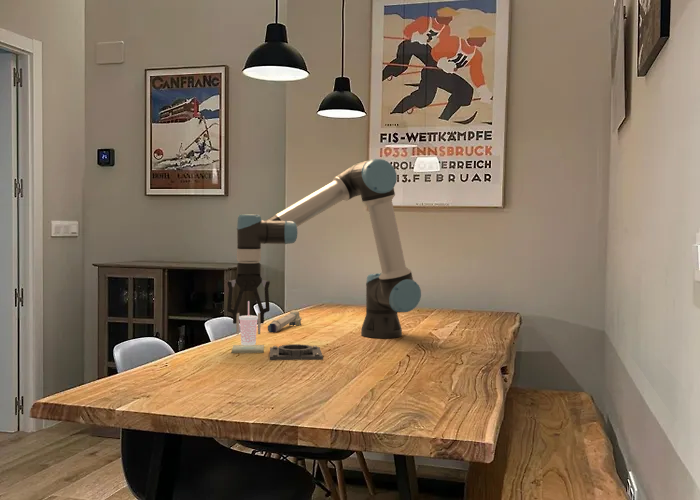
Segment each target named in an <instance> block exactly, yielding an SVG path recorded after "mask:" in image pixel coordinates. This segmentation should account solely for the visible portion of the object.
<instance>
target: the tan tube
mask: <svg viewBox="0 0 700 500" xmlns="http://www.w3.org/2000/svg"><path fill="white" fill-rule="evenodd" d="M302 321H303V320H302V317H301V316H300V311H299V310H297V309H293V310H290V312H289V313H287V315H284V316H282V317H281V318H278V319H275V320H272V321H271V323H269V324H268V325H267V331H268V332H269V333H270V332H276V333H277V331H279V332H280V331H281V330H282V329H283V328H284V327H286V326H288V325H289V326H290V325H293V326H292V327H295V326H294V325H297V326H299V325H300V326H301V324H302Z"/></svg>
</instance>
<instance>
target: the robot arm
mask: <svg viewBox="0 0 700 500" xmlns="http://www.w3.org/2000/svg"><path fill="white" fill-rule="evenodd" d="M397 180H398V175H397V172H396V169H395V167H394V165H392V163H390V162H389V161H387V160H386V159H381V158H371V159H369V160H365V161H363V160H362V161H360V162H356V163H355V164H353V165H351V166H350V167H349V168H346V170H344V171H342V172H341V173H339V174H338V175H336V176H333V179H332V181H331V182H329V183H328V184H326V185H324V186H323V187H320V188H319V189H317V190H316V191H314V192H312V193H310V194H308V195H307V196H305V197H303V198H301V199H300V200H297V202H294V203H292V204H291V205H289V206H288V207H286V208H284V209H282V210H281V211H279V212H278V213H276V214H275V215H272V216H271V217H269V218H267V219H265V220H263V219H262V216H261V215H260V214H255V213H254V214H253V213H252V214H251V213H250V214H248V213H246V214H245V213H243V214H239V215H238V216H237V221H236V222H237V224H236V232H237V236H236V238H237V241H236V244H237V248H236V261H237V262H238V263H237V265H236V278H235V279H232V280H228V281H227V286H228V287H227V288H228V296H227V309H226V310H227V312H228V313H232V323H233V324H235V325H236V333H235V334H236V335H240V319H239V316H240V312H238V310H239V307H240V305H241V300H242V298H243V295H244V292H253V295H254V297H255V300H256V304H257V307H258V311H259V312H258V313H257V316H258V319H257V335H261V324H264V322H265V314H266V313H269V311H270V295H269V287H270V283H271V282H270V280H265V279H263V278H262V276H261V275H262V274H261V272H262V271H261V270H262V269H261V267H262V266H261V263H260V262H261V259H262V257H261V254H262V253H261V252H262V250H261V249H262V245H264V244H265V245H266V244H270V245H273V244H274V245H287V244H295V243H296V241H297V238H298V227H300V226H301V225H303V224H304V223H306V222H308V221H309V220H312V219H313V218H315V217H316V216H318V215H321V213H324V212H325V211H326V210H328V209H330V208H332V207H333V206H335V205H337V204H338V203H341V202H342V201H345V202H347V201H349V200H351V199H354V198H356V197H359V196H360V197H361V201H362V203H364V204H365V206H367V209H368V213H369V214H368V215H369V217H370V218H369V219H370V222H371V227H372V231H373V236H374V241H375V245H376V250H377V254H378V259H379V265H380V268H381V273H380V272H379V273H370V274H367V276H366V283H365V288H366V291H365V292H366V293H365V294H366V295H365V296H366V297H365V299H366V301H365V304H366V305H365V307H366V308H365V313H366V314H365V316H364V320H363V323H362V327H361V328H360V330H361V331H360V332H361V333H360V334H361V336H362V337H366V338H372V339H394V338H399V337H402V335H403V328H402V326H401V322H400V319H399V315H398V313H408V312H411V311H413V310H415V308H417V306H418V304H419V303H420V300H421V297H422V290H421V287H420V285H419V284H418V282H417V281H415V280H414V278H413V274H412V273H413V272H412V270H411V269H409V268H408V267H407V265H406V261H405V257H404V252H403V248H402V243H401V238H400V233H399V228H398V224H397V219H396V215H395V209H394V205H393V199H394V197H395V196H396V192H395V186H396V183H397ZM235 284H237V286H238V287H239V292H238V295H237V298H236V302H235V305H234V307H233V306H232V305H233V296H234V295H233V294H234V288H235V286H236V285H235ZM261 284H262V287H263V288H264V300H265V305H264V306H265V308H264V307H263V304H262V303H263V302H262V300H261V297H260V294H259V290H258V287H259V286H260V285H261ZM232 307H233V308H232Z"/></svg>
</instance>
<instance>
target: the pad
mask: <svg viewBox="0 0 700 500" xmlns="http://www.w3.org/2000/svg"><path fill="white" fill-rule="evenodd" d="M264 351H265V344H255V345H241V344H233V345H232V348H231V354H263V353H264Z"/></svg>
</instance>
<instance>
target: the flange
mask: <svg viewBox="0 0 700 500" xmlns="http://www.w3.org/2000/svg"><path fill="white" fill-rule="evenodd" d="M323 359H324V356H323V352H322V350H321V347H319V346H317V345H313V346H312V345H308V344H299V343H298V344H297V343H296V344H290V343H289V344H283V345H280V346H277V345H273V346H272V347H269V361H295V360H296V361H297V360H300V361H303V360H305V361H307V360H308V361H309V360H311V361H313V360H314V361H315V360H316V361H317V360H318V361H319V360H321V361H323Z"/></svg>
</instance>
